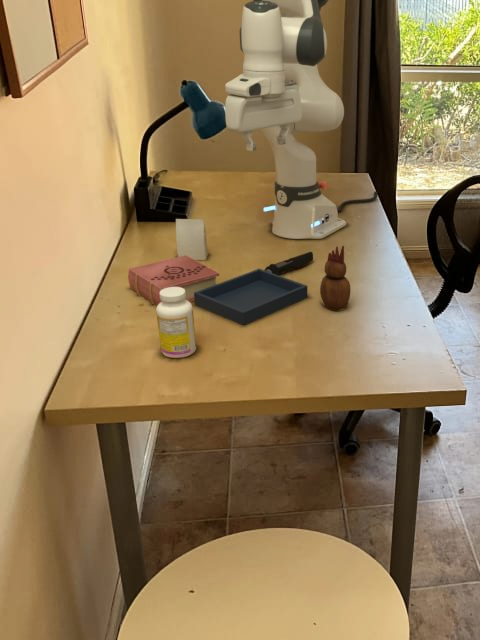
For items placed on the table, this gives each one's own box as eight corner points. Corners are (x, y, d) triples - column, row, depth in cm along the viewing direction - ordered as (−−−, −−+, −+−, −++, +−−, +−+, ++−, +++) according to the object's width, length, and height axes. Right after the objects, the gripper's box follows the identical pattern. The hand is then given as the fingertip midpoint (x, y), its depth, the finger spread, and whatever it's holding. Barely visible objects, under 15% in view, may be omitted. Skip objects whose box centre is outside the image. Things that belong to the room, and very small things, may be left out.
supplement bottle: (175, 341, 150) (169, 281, 144) (203, 348, 148) (198, 288, 142) (153, 355, 145) (146, 294, 139) (182, 362, 143) (176, 301, 137)
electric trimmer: (317, 264, 192) (317, 252, 190) (272, 280, 180) (272, 268, 179) (306, 261, 193) (306, 249, 192) (261, 276, 182) (261, 264, 181)
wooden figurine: (355, 308, 168) (356, 245, 161) (335, 315, 165) (335, 251, 158) (335, 299, 172) (336, 237, 166) (315, 305, 169) (315, 242, 162)
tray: (259, 280, 180) (259, 268, 179) (307, 297, 172) (307, 285, 171) (194, 305, 166) (193, 292, 164) (243, 325, 158) (243, 312, 157)
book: (127, 290, 171) (125, 269, 169) (187, 274, 181) (185, 255, 179) (159, 310, 162) (157, 289, 160) (220, 292, 172) (219, 272, 170)
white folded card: (205, 260, 190) (202, 222, 185) (178, 259, 189) (174, 221, 185) (207, 254, 193) (204, 217, 189) (180, 254, 192) (177, 216, 188)
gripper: (287, 77, 172) (289, 138, 178) (218, 85, 157) (223, 151, 163) (307, 80, 169) (308, 142, 175) (239, 89, 154) (243, 156, 160)
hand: (266, 147), depth 169 cm, fingers open, 8 cm apart
